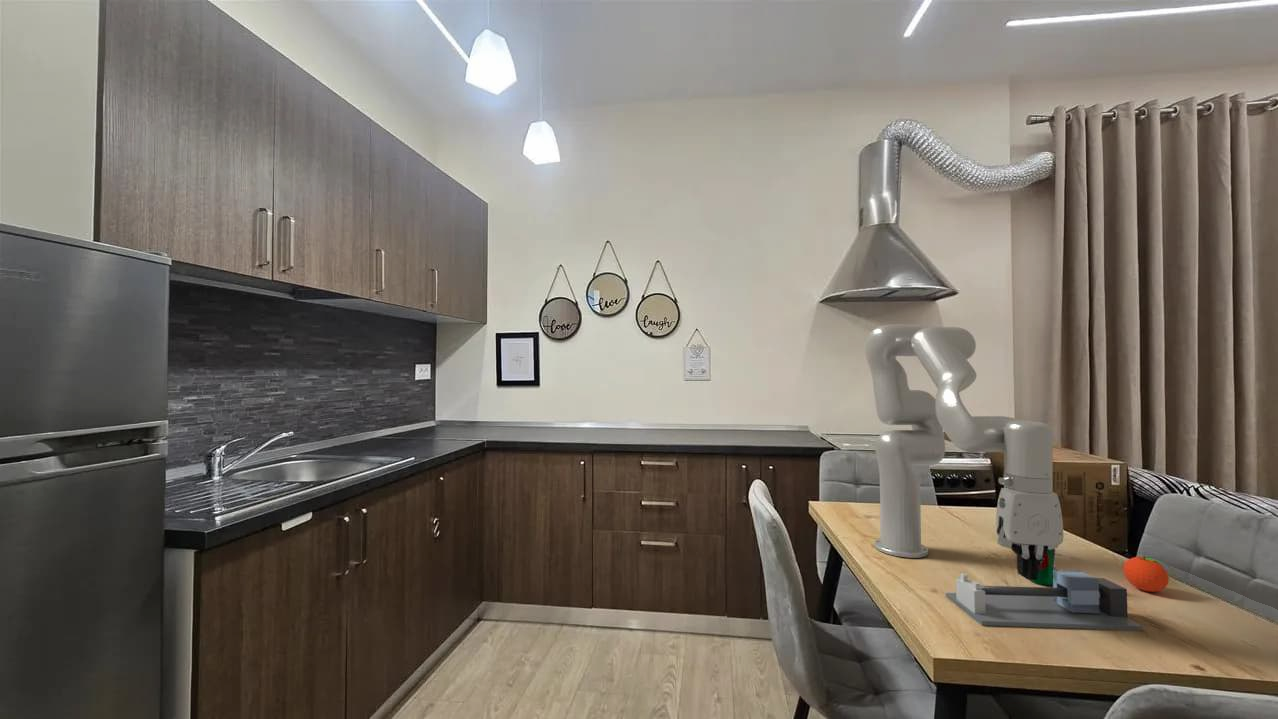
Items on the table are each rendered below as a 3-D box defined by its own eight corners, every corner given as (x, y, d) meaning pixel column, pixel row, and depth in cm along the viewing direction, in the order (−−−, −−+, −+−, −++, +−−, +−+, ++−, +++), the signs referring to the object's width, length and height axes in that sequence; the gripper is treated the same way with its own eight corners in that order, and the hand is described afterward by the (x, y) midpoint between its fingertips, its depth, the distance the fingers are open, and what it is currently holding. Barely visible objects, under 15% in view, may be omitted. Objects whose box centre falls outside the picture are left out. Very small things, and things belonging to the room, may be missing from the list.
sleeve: (1071, 612, 94) (1070, 578, 94) (1053, 601, 98) (1052, 569, 98) (1099, 613, 93) (1098, 579, 94) (1080, 602, 98) (1079, 570, 98)
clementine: (1165, 587, 108) (1164, 555, 108) (1184, 601, 101) (1182, 566, 102) (1117, 581, 111) (1116, 549, 111) (1132, 593, 105) (1131, 559, 105)
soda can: (1061, 588, 107) (1060, 532, 108) (1035, 586, 108) (1033, 530, 109) (1047, 578, 112) (1045, 525, 113) (1022, 576, 113) (1020, 524, 114)
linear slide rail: (981, 625, 91) (981, 591, 91) (945, 596, 103) (945, 566, 103) (1145, 630, 89) (1144, 596, 90) (1089, 600, 101) (1088, 570, 101)
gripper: (1001, 487, 94) (1000, 584, 94) (1083, 489, 93) (1083, 587, 93) (976, 478, 102) (976, 567, 101) (1052, 480, 101) (1052, 570, 101)
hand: (1027, 576), depth 97 cm, fingers closed
